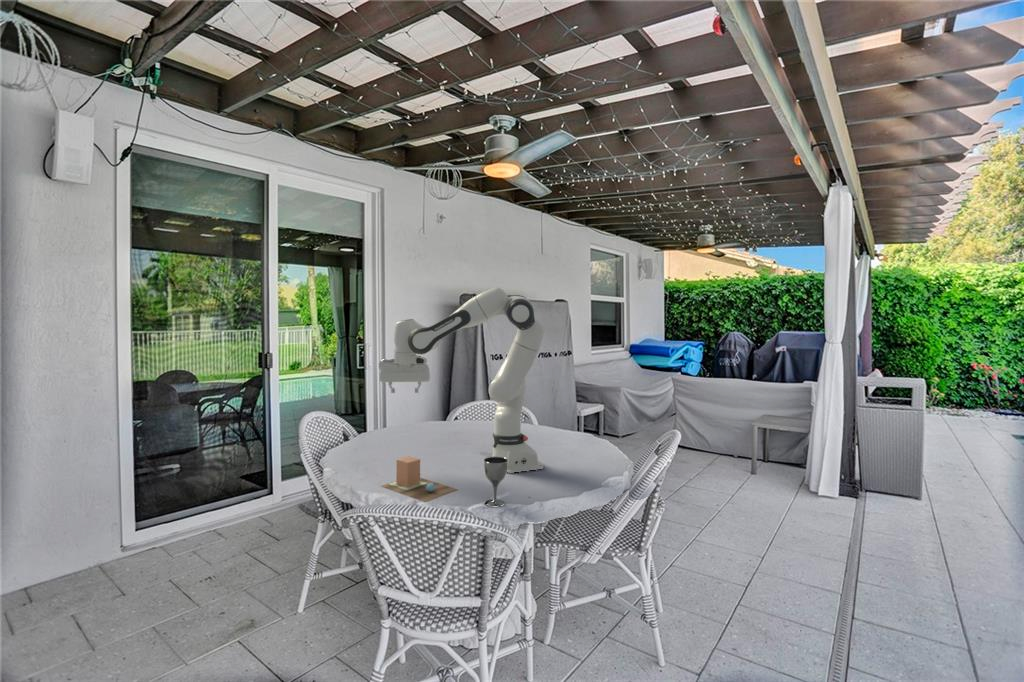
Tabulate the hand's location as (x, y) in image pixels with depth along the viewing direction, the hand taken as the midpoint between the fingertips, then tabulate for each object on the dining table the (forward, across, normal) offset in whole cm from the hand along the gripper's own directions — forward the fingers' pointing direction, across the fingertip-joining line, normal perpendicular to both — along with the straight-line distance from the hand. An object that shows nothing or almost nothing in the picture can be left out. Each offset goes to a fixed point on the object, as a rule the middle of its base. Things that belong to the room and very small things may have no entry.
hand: (404, 392), depth 211 cm
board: (+31, +5, -28) cm, 42 cm away
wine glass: (+31, +30, -45) cm, 62 cm away
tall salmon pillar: (+30, +1, -24) cm, 38 cm away
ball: (+29, +9, -33) cm, 44 cm away
